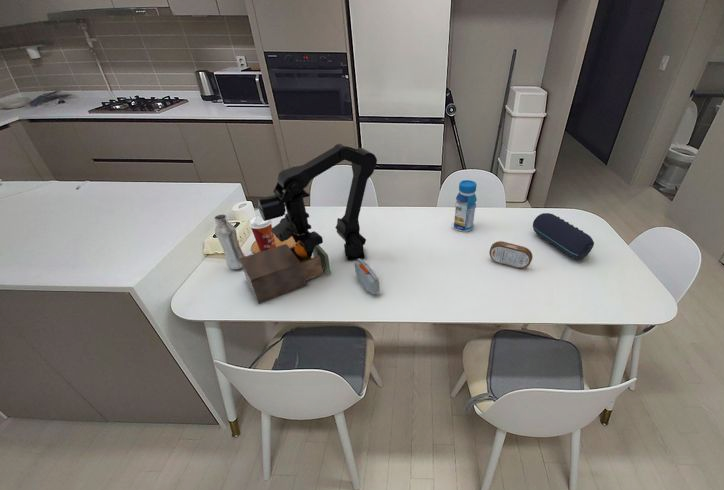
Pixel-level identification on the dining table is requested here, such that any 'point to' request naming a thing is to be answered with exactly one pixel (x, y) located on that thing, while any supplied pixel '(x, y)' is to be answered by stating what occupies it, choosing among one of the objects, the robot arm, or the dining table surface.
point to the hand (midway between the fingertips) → (305, 252)
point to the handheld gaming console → (367, 276)
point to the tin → (510, 254)
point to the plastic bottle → (228, 241)
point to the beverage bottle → (465, 206)
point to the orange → (300, 250)
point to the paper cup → (262, 233)
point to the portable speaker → (563, 235)
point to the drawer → (314, 263)
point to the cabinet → (273, 272)
